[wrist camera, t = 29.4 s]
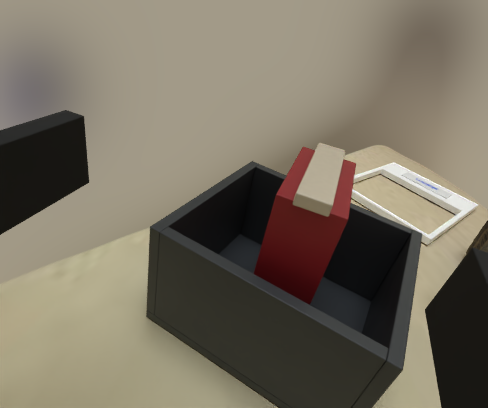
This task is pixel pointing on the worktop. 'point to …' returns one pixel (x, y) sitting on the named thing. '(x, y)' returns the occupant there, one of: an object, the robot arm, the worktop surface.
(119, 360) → the worktop surface
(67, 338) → the worktop surface
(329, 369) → the bin
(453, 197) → the photo frame
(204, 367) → the worktop surface
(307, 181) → the block
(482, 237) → the dark brown wooden block
